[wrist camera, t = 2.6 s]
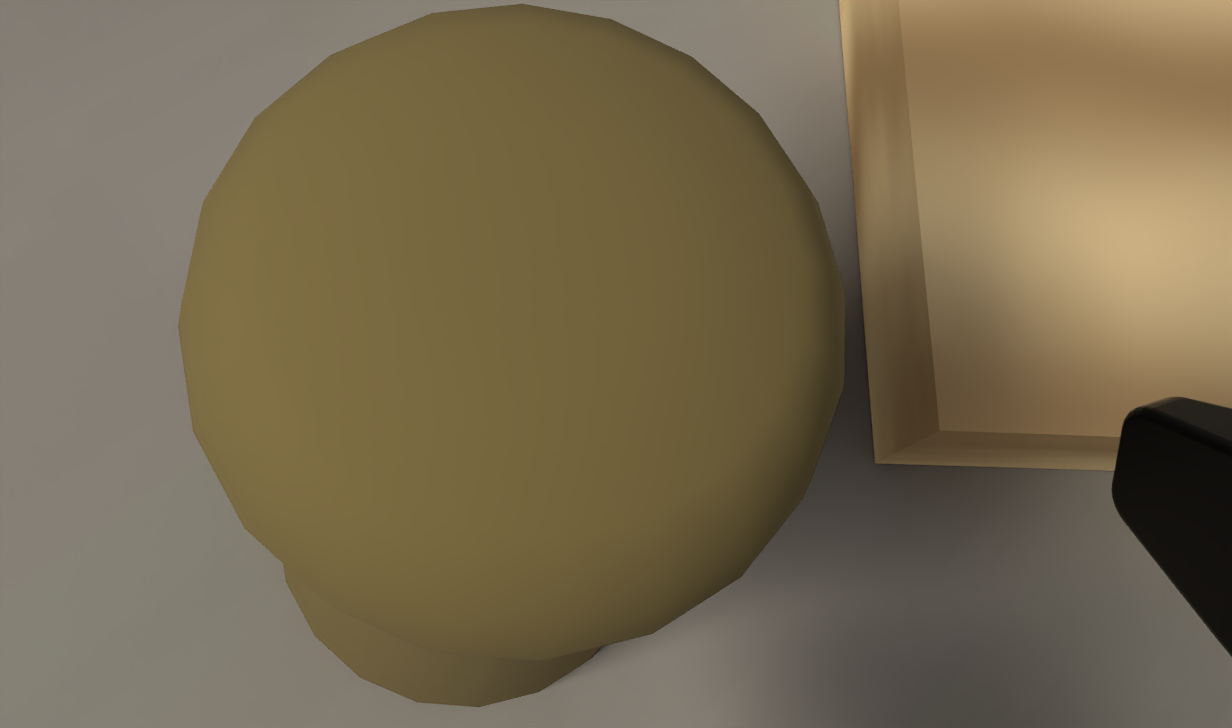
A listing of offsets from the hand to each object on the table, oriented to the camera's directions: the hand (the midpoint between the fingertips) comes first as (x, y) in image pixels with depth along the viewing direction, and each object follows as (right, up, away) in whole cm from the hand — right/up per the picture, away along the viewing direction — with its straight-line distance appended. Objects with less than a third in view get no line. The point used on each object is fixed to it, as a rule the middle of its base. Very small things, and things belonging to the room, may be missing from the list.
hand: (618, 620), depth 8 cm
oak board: (+10, +6, +14) cm, 18 cm away
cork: (-2, -1, +10) cm, 10 cm away
